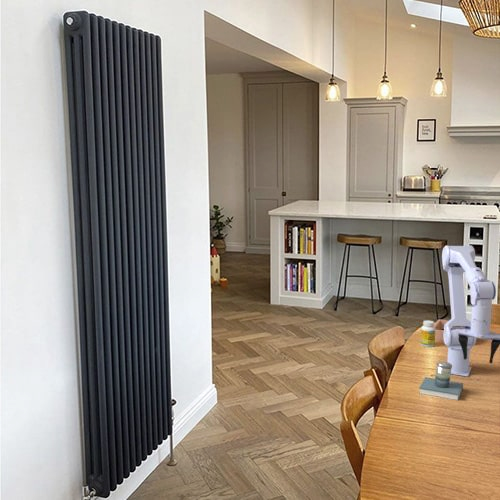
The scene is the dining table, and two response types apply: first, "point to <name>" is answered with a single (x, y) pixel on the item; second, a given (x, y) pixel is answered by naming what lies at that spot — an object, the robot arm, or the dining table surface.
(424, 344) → the supplement bottle
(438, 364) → the tea tin
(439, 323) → the open box
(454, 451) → the dining table surface
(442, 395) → the hardcover book
